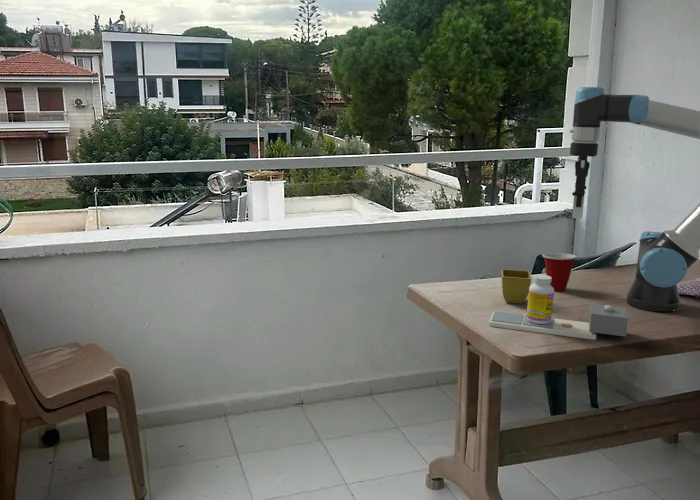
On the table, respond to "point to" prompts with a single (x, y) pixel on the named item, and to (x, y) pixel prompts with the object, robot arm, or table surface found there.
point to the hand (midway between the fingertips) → (577, 214)
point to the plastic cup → (559, 269)
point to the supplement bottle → (540, 300)
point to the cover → (608, 320)
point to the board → (542, 325)
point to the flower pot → (515, 285)
